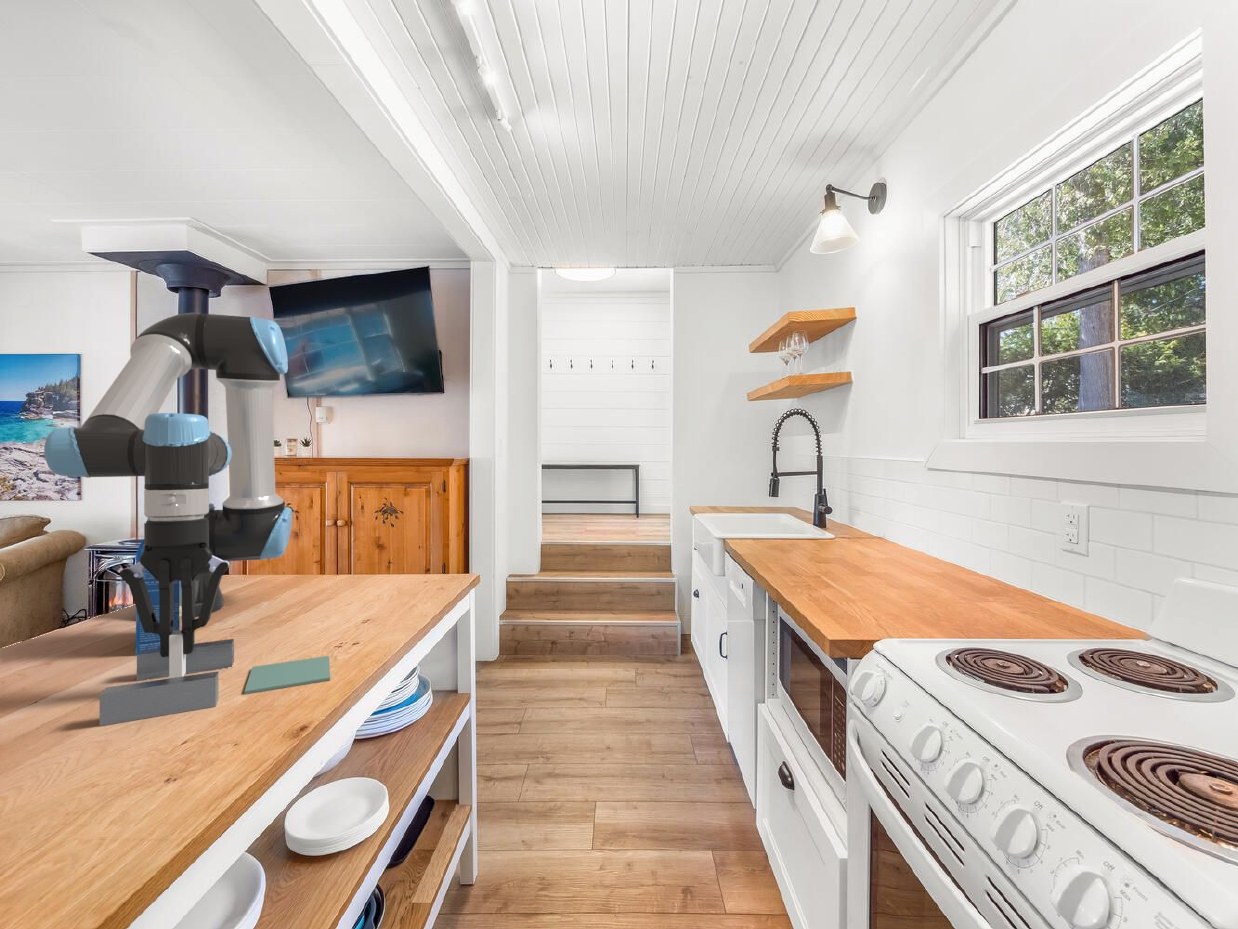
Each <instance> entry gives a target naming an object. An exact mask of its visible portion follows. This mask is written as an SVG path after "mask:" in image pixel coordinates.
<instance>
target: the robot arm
mask: <svg viewBox="0 0 1238 929" xmlns="http://www.w3.org/2000/svg"><path fill="white" fill-rule="evenodd" d="M129 353H130V356H131V357H130V358H129V359H128V361H127V363H125V364H124V367H123V368H122V369H121V371H120V372H119V374H118V375H117V377H116V378H115V380H114V381H113V382H112V383H111V385H110V386H109V387H108V390H107V391H106V392H105V394H104V395H103V396H102V397H101V399H100V400H99V402H98V403H97V405H96V406H95V407H94V409H93V410H92V411H91V413H90V414H89V416H88V417H87V419H86V420H85V421H84V422H83V424H81V426H80V427H75V426H70V427H67V428H66V427H61V428H60V427H59V428H56V429H54V430H52V431H50V433H49V434H48V435H47V437H46V440H45V443H44V447H43V448H44V450H43V451H44V452H43V453H44V459H45V462H46V464H47V466H48V468H49V470H50V471H51V472H53V474H55V475H57V476H61V477H79V478H80V477H83V478H86V479H87V478H115V477H116V478H117V477H118V478H120V477H121V478H123V477H124V478H125V477H144V487H143V488H144V490H143V491H144V492H143V494H144V497H143V498H144V499H143V503H144V504H143V505H144V506H143V509H144V510H143V511H144V512H143V514H144V516H145V517H147V518H146V521H145V522H144V523H143V524H144V525H143V529H144V530H143V532H144V533H143V534H144V535H143V536H144V537H143V540H144V552H143V554H142V555H141V556H140V561H139V562H138V563H136V562H135V564H133V565H131V566H126V567H125V568H123V569H121V570H120V571H119V576H120V577H121V579H122V580H123V581H124V582H125V583H126V584H127V585H128V586H129V590H130V593H131V596H132V599H133V602H134V605H135V610H136V609H137V612H138V615H139V618H140V621H141V624H142V627H143V631H144V632H145V633H155V634H158V635H159V636H160V655H161V657H168V656H169V677H168V679H169V678H176V677H183V676H186V674H185V673H186V654H191V653H192V651H193V649H194V647H195V644H196V643H195V631H197V629H200V628H204V627H206V626H207V624H208V623H209V622H210V619H211V616H212V613H214V612H217V611H219V610H221V609H222V607H223V608H224V594H223V592H222V590H221V587H220V585H221V581H222V577H223V575H224V574H225V572H226V571H227V570H228V568H229V567H230V565H231V562H238V561H241V562H242V561H243V562H244V561H262V560H272V559H279V558H280V557H282V556H283V555H284V554H285V553H286V550H287V547H288V544H289V541H290V535H291V530H292V524H293V523H292V522H293V510H292V508H290V507H288V506H284V499H283V498H282V497H281V496H279V494H277V493H276V469H275V468H276V467H275V466H276V465H275V464H276V463H275V461H276V460H275V437H274V436H275V435H274V430H275V429H274V408H273V406H274V405H273V403H274V402H273V389H274V388H275V387H276V386H277V385H278V384H279V383H280V382H281V380H280V379H281V378H280V377H281V376H280V375H283V374H286V373H287V372H288V370H289V366H288V362H289V359H288V352H287V348H286V342H285V338H284V334H283V331H282V330H281V327H280V326H279V324H278V323H276V322H275V321H274V320H271V319H268V318H267V319H266V318H260V317H254V316H239V315H225V314H215V313H204V312H187V313H184V312H183V313H180V314H176V315H175V314H174V315H171V316H170V317H167V318H163V319H161V320H159V321H157V322H155V323H154V324H152V325H150V326H149V327H148V328H145V329H144V330H143V331H142V332H140V334H138V336H137V337H136V339H135V340H134V341H133V343H132V344H131V346H130V351H129ZM197 369H198V370H200V369H201V370H211V371H215V376H216V377H215V379H216V381H218V382H219V383H220V384H222V385H223V387H224V388H225V407H226V408H225V409H226V431H227V432H226V433H227V440H226V439H225V438H224V437H222V436H221V435H219V434H217V433H215V432H212V431H210V426H209V420H208V418H207V417H205V416H204V415H201V414H193V413H182V412H181V413H178V412H160V409H161V407H162V406H163V405H164V402H165V401H166V399H167V397H168V395H169V394H170V392H171V390H172V389H173V386H174V385H175V383H176V382H177V379H179V378H181V377H183V376H185V375H186V374H187V373H189V371H190V370H197ZM227 467H228V473H229V476H228V477H229V493H230V495H229V496H228V497H227V498H225V500H224V501H223V502H222V509H216V507H215V505H214V504H213V503H210V488H209V487H210V486H209V484H210V483H209V481H210V480H209V479H210V478H209V477H211V476H215V475H216V474H218V473H221V472H222V471H224V470H225V469H226V468H227ZM144 567H145V568H146V569H147V570H148V571H149V572H150V573H151V574H152V575H153V576H154V577H155V578H156V579H157V580H158V581H159V622H158V621H157V618H156V615H155V612H154V609H153V606H152V603H151V600H150V596H149V593H148V590H147V587H146V584H145V581H144V579H143V576H144V574H145V572H144ZM175 580H178V581H181V588H182V630H180V631H173V628H174V581H175ZM134 616H135V618H136V615H134ZM197 617H198V618H197Z"/></svg>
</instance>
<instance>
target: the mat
mask: <svg viewBox="0 0 1238 929" xmlns="http://www.w3.org/2000/svg"><path fill="white" fill-rule="evenodd" d="M330 667H331V665H330V655H324V656H323V655H322V656H318V657H312V658H311V657H310V658H304V659H297V660H289V661H284V662H283V661H282V662H277V663H269V664H263V665H256V666H252V667H251V670H250V671H249V672H250V674H249V676H248V679H247V682H246V685H245V688H244V691H243V692H244V693H243V695H247V694H253V693H259V692H260V693H261V692H265V691H272V690H273V691H274V690H277V689H283V688H290V687H298V686H303V685H309V684H314V683H320V682H327V681H331V671H330V669H331V668H330Z"/></svg>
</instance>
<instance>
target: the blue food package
mask: <svg viewBox="0 0 1238 929" xmlns="http://www.w3.org/2000/svg"><path fill="white" fill-rule="evenodd" d="M143 552H144V539H143V540H142V541H141V542H140V544H139V545H138V548H137V551H136V555H135V556H136V557H135V564H136V563H138V562H139V561H140V556H141V555H142V554H143ZM144 572H145V574H144V576H143V579H144V581H145V584H146V587H147V590H148V593H149V596H150V600H151V603H152V606H153V609H154V612H155V615H156V618H157V621H158V622H159V581H158V580H157V579H156V578H155V577H154V576H153V575H152V574H151V573H150V572H149V571H148V570H147V569H146V568H145V567H144ZM135 616H136V617H135V657H137V654H138V653H139V652H140V651H141V650H147V649H155V648H160V636H159V635H158V634H155V633H145V632H144V631H143V627H142V624H141V621H140V618H139V615H138V612H137V609H136V608H135ZM180 630H182V588H181V581H178V580H175V581H174V628H173V631H180Z"/></svg>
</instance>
